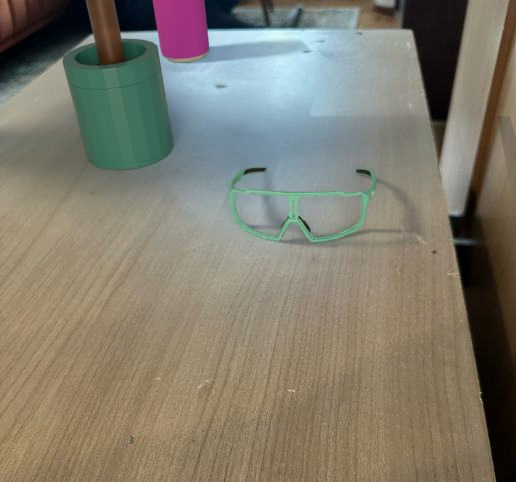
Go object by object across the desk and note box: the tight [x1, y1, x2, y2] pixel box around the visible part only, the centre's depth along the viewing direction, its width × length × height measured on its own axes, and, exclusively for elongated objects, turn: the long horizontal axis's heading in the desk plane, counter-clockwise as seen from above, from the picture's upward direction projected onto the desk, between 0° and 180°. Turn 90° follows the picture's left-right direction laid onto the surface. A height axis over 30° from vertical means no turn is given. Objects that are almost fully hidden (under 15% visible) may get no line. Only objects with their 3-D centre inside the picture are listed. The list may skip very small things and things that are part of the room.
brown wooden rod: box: [85, 0, 126, 65], centre depth 69 cm, size 4×4×20 cm
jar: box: [61, 38, 174, 171], centre depth 73 cm, size 10×10×11 cm
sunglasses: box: [228, 166, 377, 243], centre depth 63 cm, size 14×15×5 cm
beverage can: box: [152, 0, 210, 64], centre depth 98 cm, size 8×8×12 cm
